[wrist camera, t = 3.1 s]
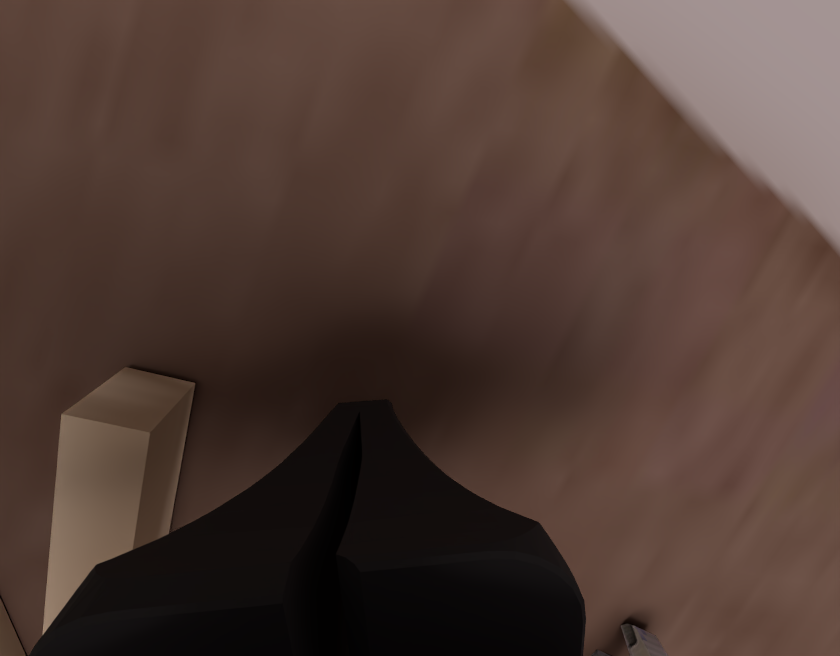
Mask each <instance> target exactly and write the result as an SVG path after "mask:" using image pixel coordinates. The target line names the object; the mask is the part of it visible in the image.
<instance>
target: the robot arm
mask: <svg viewBox="0 0 840 656" xmlns="http://www.w3.org/2000/svg"><path fill="white" fill-rule="evenodd" d="M585 624H586V615H585V604H584V599H583V597H582V595H581V593H580V590H579V587H578V585H577V583H576V580H575V578H574V576H573V574H572V572H571V571H570V569H569V567H568V565H567V563H566V562H565V560H564V559H563V557H562V555H561V554H560V552H559V551H558V549H557V548H556V546H555V545H554V543H553V542H552V540H551V539H550V537H549V536H548V534H547V533H546V531H545V530H544V529H543V527H542V526H541V524H540V523H539V522H537V521H534V520H532V519H529V518H526V517H524V516H521V515H519V514H516V513H514V512H511V511H509V510H506V509H504V508H501V507H499V506H497V505H495V504H493V503H491V502H489V501H487V500H485V499H483V498H481V497H479V496H478V495H476V494H474V493H472V492H471V491H469V490H467V489H466V488H464V487H463V486H461V485H460V484H458V483H457V482H456V481H454V480H453V479H451V478H450V477H449V476H447V475H446V474H445V473H444V472H442V471H441V470H440V469H439V468H438V467H437V466H436V465H435V464H434V463H433V462H432V461H431V460H430V459H429V458H428V457H427V456H426V455H425V454H424V453H423V452H422V451H421V450H420V449H419V447H418V446H417V445H416V444H415V443H414V441H413V440H412V439H411V438H410V436H409V435H408V433H407V432H406V431H405V429H404V428H403V426H402V425H401V423H400V421H399V420H398V418H397V416H396V414H395V412H394V410H393V407H392V403H391V402H390V401H388V400H387V399H385V400H373V401H360V402H348V403H338V404H337V405H336V407H335V408H334V409H333V410H332V411H331V412H330V413H329V414H328V415H327V417H326V418H325V419H324V420H323V421H322V422H321V423H320V425H319V426H318V427H317V428H316V429H315V430H314V431H313V432H312V433H311V435H310V436H309V437H308V438H307V439H306V440H305V441H304V442H303V443H302V444H301V445H300V446H299V447H298V448H297V449H296V450H295V451H293V452H292V453H291V454H290V455H289V456H288V457H287V458H286V459H285V460H284V461H283V462H282V463H281V464H279V465H278V466H277V467H276V468H275V469H273V470H272V471H271V472H270V473H268V474H267V475H266V476H264V477H263V478H262V479H260V480H259V481H258V482H256V483H255V484H254V485H252V486H251V487H249V488H248V489H247V490H245V491H243V492H242V493H240V494H239V495H237V496H236V497H234V498H232V499H231V500H229V501H228V502H226V503H224V504H223V505H221V506H220V507H218V508H217V509H215V510H213V511H211V512H210V513H208V514H206V515H204V516H202V517H201V518H199V519H197V520H195V521H193V522H191V523H189V524H187V525H185V526H184V527H182V528H180V529H178V530H176V531H174V532H172V533H170V534H167V535H165V536H163V537H161V538H159V539H157V540H155V541H152V542H150V543H147V544H145V545H143V546H140V547H138V548H136V549H133V550H131V551H128V552H126V553H124V554H121V555H119V556H117V557H114V558H112V559H109V560H107V561H104V562H102V563H99V564H96V565H95V567H94V568H93V569H92V570H91V571H90V573H89V574H88V575H87V577H86V578H85V579H84V581H83V582H82V583H81V585H80V586H79V587H78V589H77V590H76V591H75V592H74V594H73V595H72V597H71V598H70V599H69V601H68V602H67V603H66V605H65V606H64V607H63V609H62V610H61V611H60V613H59V614H58V615H57V617H56V618H55V619H54V621H53V622H52V623H51V625H50V626H49V627H48V629H47V630H46V631H45V633H44V634H43V635H42V637H41V638H40V639H39V641H38V642H37V643H36V645H35V646H34V648H33V650H32V651H31V653H30V655H29V656H583V648H584V636H585Z"/></svg>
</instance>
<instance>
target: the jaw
mask: <svg viewBox="0 0 840 656" xmlns="http://www.w3.org/2000/svg"><path fill="white" fill-rule="evenodd" d="M194 388H195V383H193V382H188V381H184V380H180V379H175V378H171V377H167V376H162V375H158V374H154V373H149V372H145V371H140V370H136V369H132V368H127V367H125V368H123V369H122V370H121V371H119V372H118V373H117V374H115V375H114V376H112V377H111V378H110V379H108V380H107V381H106V382H104V383H103V384H102V385H100V386H99V387H97V388H96V389H95V390H93V391H92V392H91V393H89V394H88V395H87V396H85V397H84V398H83V399H81V400H80V401H78V402H77V403H76V404H74V405H73V406H72V407H70V408H69V409H68V410H66V411H65V412H63V413H62V414H61V425H60V437H59V449H58V460H57V472H56V484H55V495H54V507H53V518H52V530H51V542H50V553H49V565H48V577H47V588H46V600H45V611H44V623H43V634H44V633H45V631H46V630H47V629H48V627H49V626H50V625H51V623H52V622H53V621H54V619H55V618H56V617H57V615H58V614H59V613H60V611H61V610H62V609H63V607H64V606H65V605H66V603H67V602H68V601H69V599H70V598H71V597H72V595H73V594H74V592H75V591H76V590H77V589H78V587H79V586H80V585H81V583H82V582H83V581H84V579H85V578H86V577H87V575H88V574H89V573H90V571H91V570H92V569H93V568H94V567H95V565H96V564H99V563H102V562H104V561H107V560H109V559H112V558H114V557H117V556H119V555H121V554H124V553H126V552H128V551H131V550H133V549H136V548H138V547H140V546H143V545H145V544H147V543H150V542H152V541H155V540H157V539H159V538H161V537H163V536H165V535H167V534H169V530H170V524H171V519H172V513H173V507H174V502H175V496H176V490H177V485H178V479H179V473H180V468H181V462H182V456H183V451H184V445H185V439H186V434H187V428H188V422H189V417H190V411H191V405H192V400H193V394H194Z"/></svg>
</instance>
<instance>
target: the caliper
mask: <svg viewBox="0 0 840 656" xmlns="http://www.w3.org/2000/svg"><path fill="white" fill-rule="evenodd" d="M621 629H622V632H623V635H624V638H625V641H626V644H627V648H628V651H629V654H630V656H668V655H667V653H666V651H665V650H664V648H663V647H662V645H661V643H660V642H659V640H658V639H657V637H656V635H653V634H651V633H649V632H647V631H645V630H643V629H640V628H638V627H636V626H634V625H631V624H624V625H621ZM591 656H611V655H609V654H606V653H604V652H602V651H599V650H596V651H595V652H594V653H593V654H592V655H591Z"/></svg>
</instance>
